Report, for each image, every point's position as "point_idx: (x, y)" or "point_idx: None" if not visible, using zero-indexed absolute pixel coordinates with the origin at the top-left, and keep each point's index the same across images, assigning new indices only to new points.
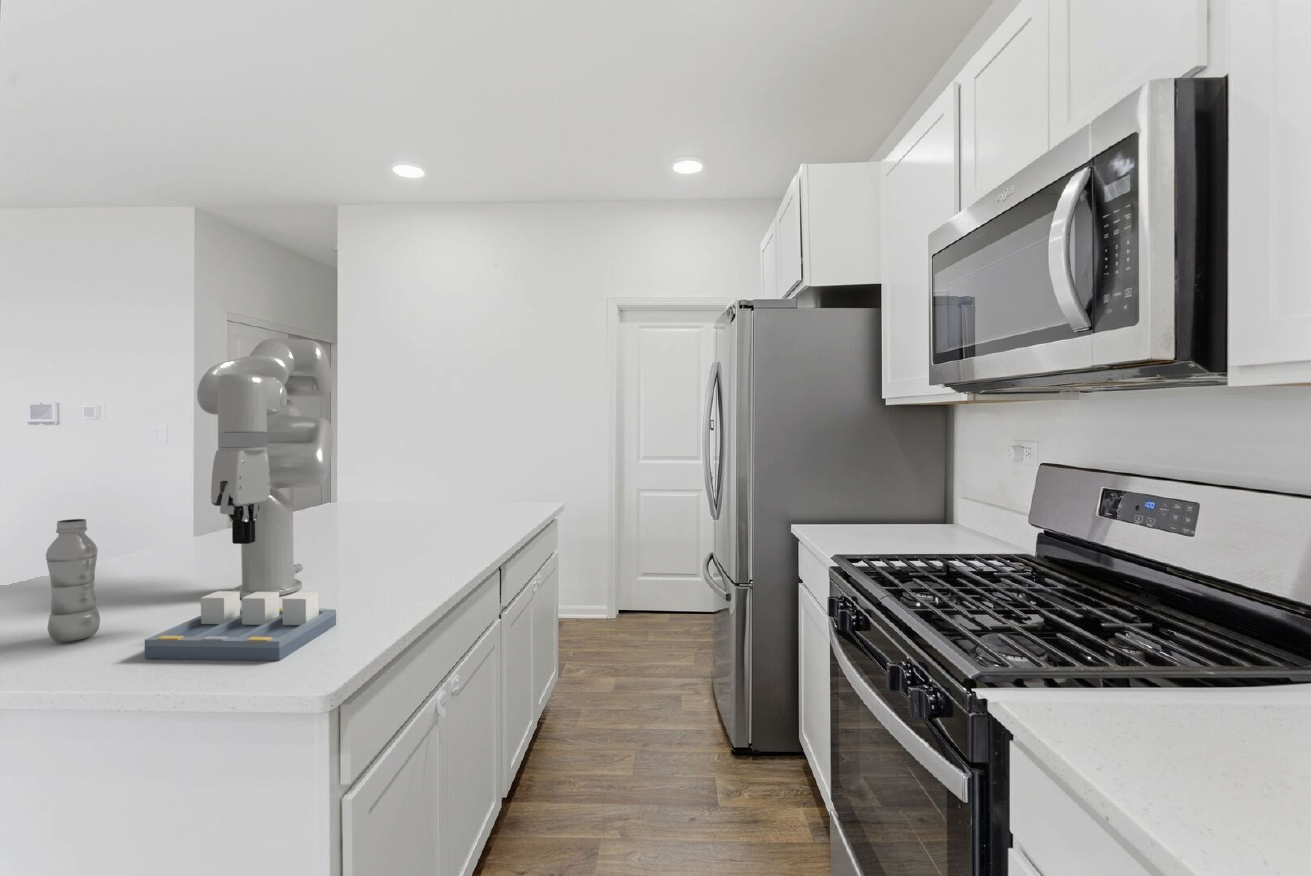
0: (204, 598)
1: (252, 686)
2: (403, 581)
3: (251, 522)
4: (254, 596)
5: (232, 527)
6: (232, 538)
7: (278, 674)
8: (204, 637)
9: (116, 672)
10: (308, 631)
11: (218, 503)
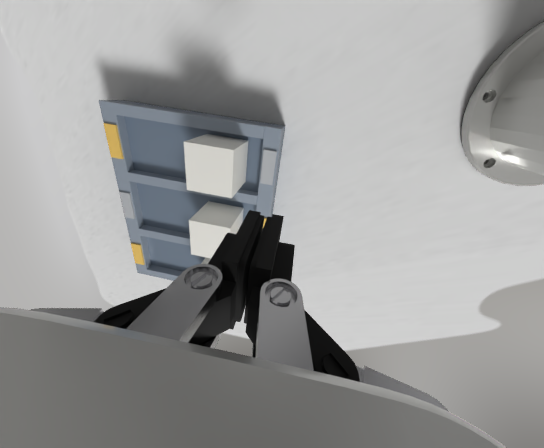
0: (184, 149)
1: (97, 256)
2: (485, 328)
3: (245, 321)
4: (200, 235)
5: (232, 242)
6: (245, 217)
7: (124, 267)
8: (128, 189)
9: (77, 93)
10: None
11: (16, 326)
